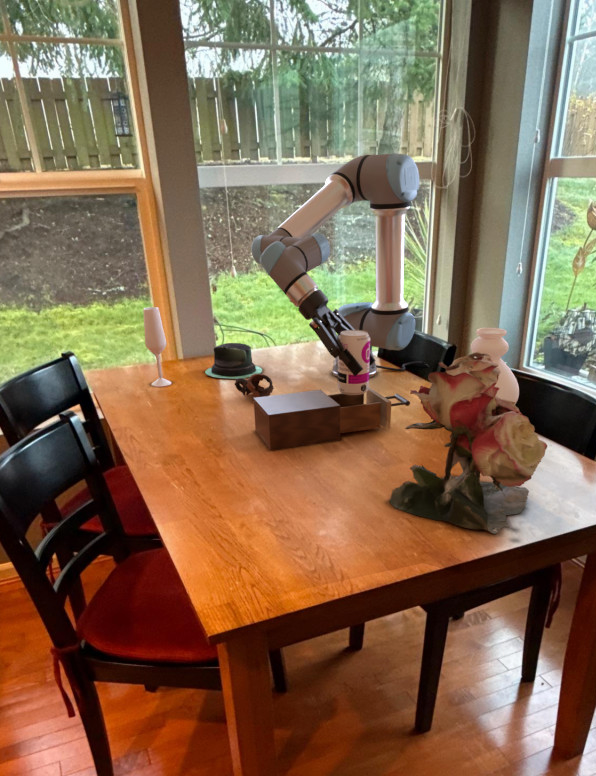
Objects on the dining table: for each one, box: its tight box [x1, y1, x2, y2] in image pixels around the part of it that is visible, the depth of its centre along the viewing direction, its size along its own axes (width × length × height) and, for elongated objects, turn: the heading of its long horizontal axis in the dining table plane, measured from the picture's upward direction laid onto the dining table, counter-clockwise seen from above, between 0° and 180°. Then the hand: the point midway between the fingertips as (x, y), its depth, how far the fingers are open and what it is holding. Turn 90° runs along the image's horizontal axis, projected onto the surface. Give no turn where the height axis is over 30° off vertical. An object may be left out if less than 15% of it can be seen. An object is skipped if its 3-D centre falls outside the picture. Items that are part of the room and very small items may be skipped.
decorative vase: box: [470, 327, 520, 405], centre depth 165 cm, size 18×18×25 cm
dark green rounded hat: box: [204, 342, 263, 380], centre depth 220 cm, size 15×19×20 cm
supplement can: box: [337, 330, 370, 395], centre depth 162 cm, size 8×8×15 cm
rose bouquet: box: [388, 352, 548, 535], centre depth 125 cm, size 26×29×30 cm
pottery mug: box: [234, 373, 275, 402], centre depth 193 cm, size 12×10×8 cm
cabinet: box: [252, 389, 341, 451], centre depth 164 cm, size 19×15×9 cm
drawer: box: [327, 387, 411, 434], centre depth 169 cm, size 25×13×7 cm, turn 110°
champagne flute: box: [143, 306, 172, 387], centre depth 204 cm, size 7×7×24 cm
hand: (365, 368), depth 161 cm, fingers closed on supplement can, 8 cm apart
